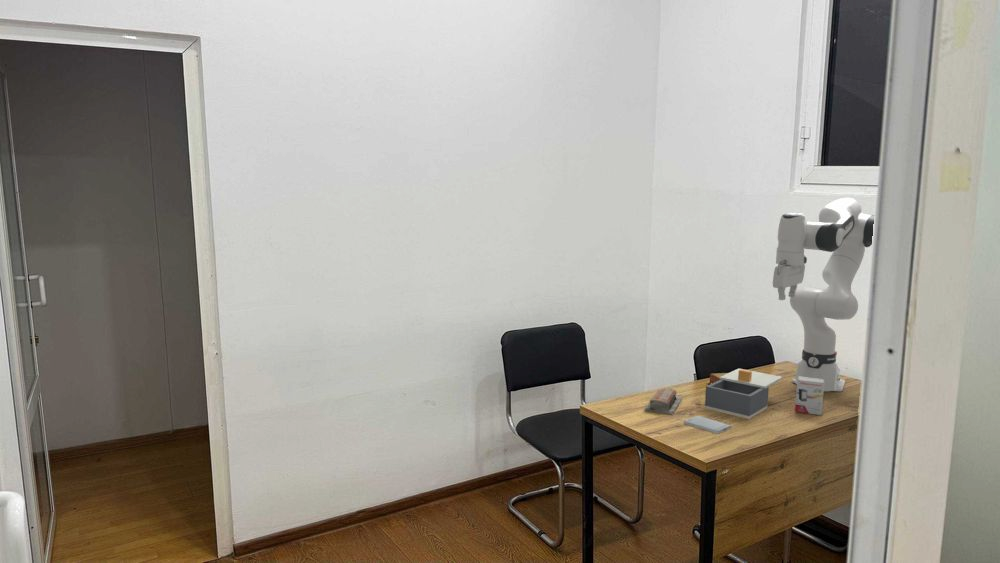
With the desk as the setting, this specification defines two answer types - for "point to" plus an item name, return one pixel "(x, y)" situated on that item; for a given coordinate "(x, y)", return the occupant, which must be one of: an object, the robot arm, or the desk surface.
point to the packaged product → (664, 402)
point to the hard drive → (707, 424)
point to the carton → (716, 377)
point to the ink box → (809, 395)
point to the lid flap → (751, 378)
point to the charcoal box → (736, 398)
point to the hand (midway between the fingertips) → (786, 298)
